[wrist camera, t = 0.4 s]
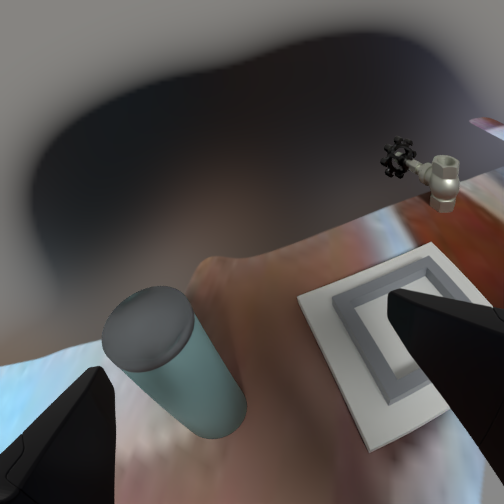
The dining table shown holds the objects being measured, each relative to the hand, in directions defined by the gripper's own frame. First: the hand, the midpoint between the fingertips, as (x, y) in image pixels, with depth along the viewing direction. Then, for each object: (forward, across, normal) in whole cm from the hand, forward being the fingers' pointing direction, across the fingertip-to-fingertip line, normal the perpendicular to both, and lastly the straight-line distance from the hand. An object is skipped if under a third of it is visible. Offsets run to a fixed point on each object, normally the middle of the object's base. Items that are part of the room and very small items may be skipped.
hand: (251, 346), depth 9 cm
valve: (+27, -29, +5) cm, 40 cm away
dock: (+11, -14, +12) cm, 21 cm away
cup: (+11, +4, +14) cm, 18 cm away
